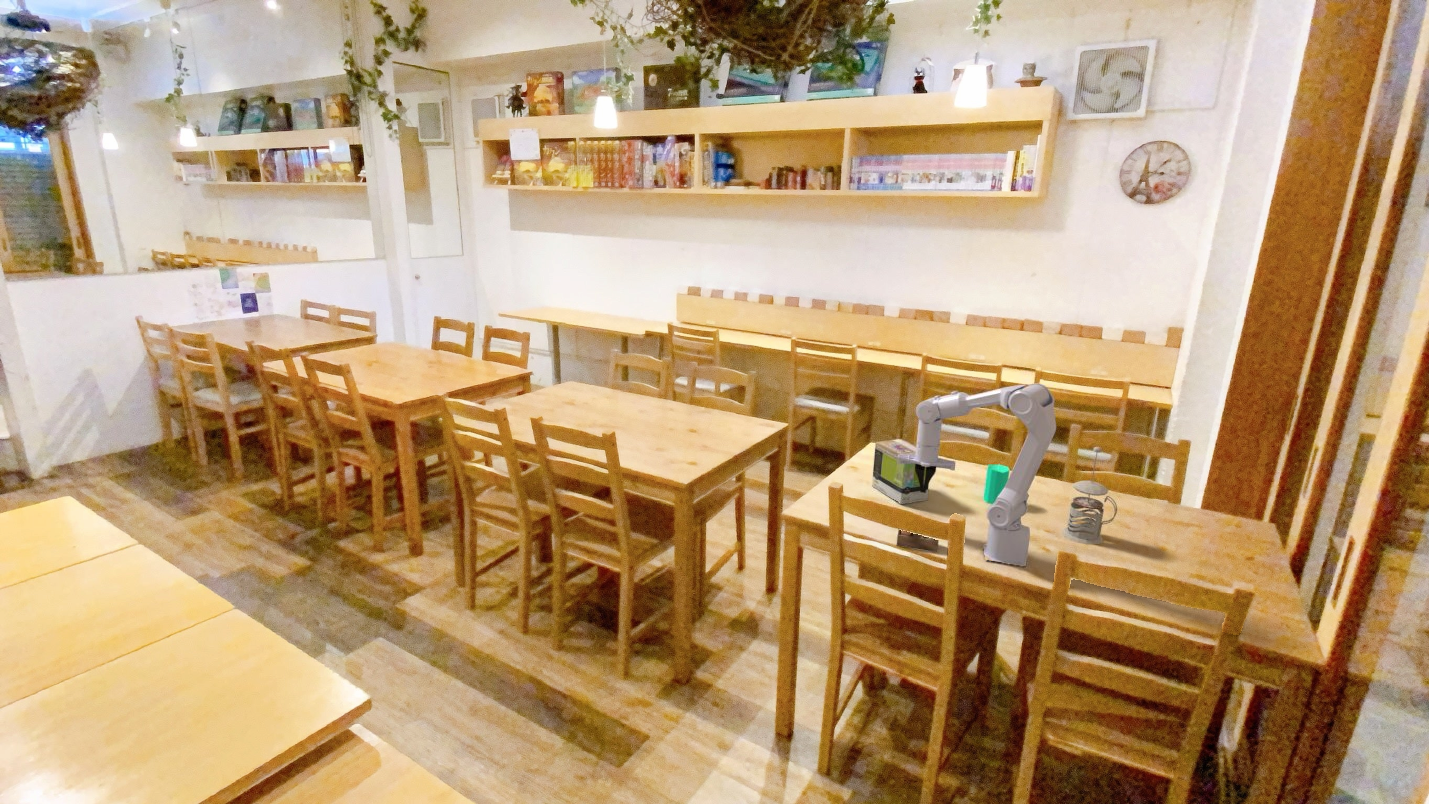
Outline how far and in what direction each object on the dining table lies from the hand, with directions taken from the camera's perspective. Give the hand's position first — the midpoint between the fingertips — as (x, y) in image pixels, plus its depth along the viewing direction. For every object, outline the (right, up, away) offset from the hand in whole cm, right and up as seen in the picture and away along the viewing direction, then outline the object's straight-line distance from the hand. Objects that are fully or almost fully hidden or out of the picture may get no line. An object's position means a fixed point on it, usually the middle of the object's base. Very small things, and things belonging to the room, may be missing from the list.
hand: (923, 491), depth 184 cm
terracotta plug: (-6, -11, -7) cm, 14 cm away
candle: (+27, -5, +20) cm, 34 cm away
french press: (+43, -12, -2) cm, 44 cm away
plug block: (-4, -13, -7) cm, 15 cm away
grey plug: (-1, -13, -8) cm, 15 cm away
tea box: (0, -4, +24) cm, 25 cm away
